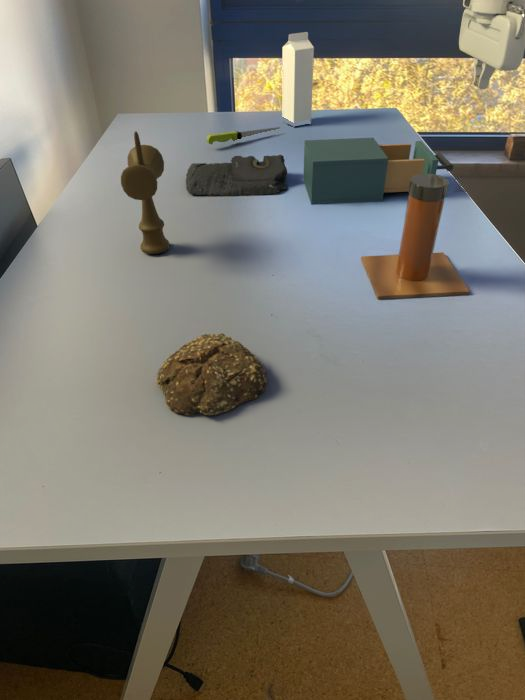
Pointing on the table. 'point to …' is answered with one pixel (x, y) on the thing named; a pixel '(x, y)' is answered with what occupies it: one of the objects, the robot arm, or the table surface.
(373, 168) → the cabinet
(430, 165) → the drawer
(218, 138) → the kitchen knife
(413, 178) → the spice jar
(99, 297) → the table surface
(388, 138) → the table surface
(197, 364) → the bread roll
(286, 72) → the milk
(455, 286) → the wooden board
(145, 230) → the kendama
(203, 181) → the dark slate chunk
